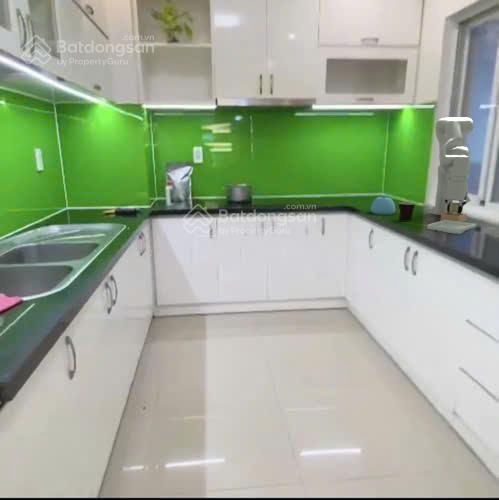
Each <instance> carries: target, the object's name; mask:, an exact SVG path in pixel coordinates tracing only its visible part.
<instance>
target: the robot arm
mask: <svg viewBox="0 0 499 500" xmlns="http://www.w3.org/2000/svg"><path fill="white" fill-rule="evenodd" d="M474 127H475V125H474V121H473V119H472V118H470V117H443V118H440V119H437V121H436V123H435V135H436V136H435V137H436V138H437V141H438V144H439V145H438V147H439V148H438V151H439V155H438V156H439V157H438V159H439V165H438V167H437V184H436V185H437V186H436V195H435V202H434V206H429V207H428V210H429V211H431V214H433V215H436V216H437V215H439V216H441V214H442V213H446V212H449V210H450V203H451V202H454V201H457V202H458V203H459V204H460V206H459V207H458V213H463V209H464V206H465V205H466V204H468V203H469V202H471V199H470V197H469V194H468V193H469V192H468V191H469V186H468V182H467V179H468V178H469V177H470V175H471V154H470V150H469V148H468V147H466V146H462V144H463V143H464V135H466V134H471V133H472V132H473V130H474Z"/></svg>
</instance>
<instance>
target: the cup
mask: <svg viewBox="0 0 499 500" xmlns="http://www.w3.org/2000/svg"><path fill="white" fill-rule="evenodd" d="M467 215H468V214H467V213H463V212H461V213H459V216H457V215H450V214H449V212H446V213H442V214H441V215H440V221H443V220H452V221H459V222H466V221H467Z"/></svg>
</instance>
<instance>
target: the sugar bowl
mask: <svg viewBox="0 0 499 500" xmlns="http://www.w3.org/2000/svg"><path fill="white" fill-rule="evenodd" d="M370 212H372V214H374V215H382V216H383V215H384V216H387V215H388V216H390V215H393V214H394V213H395V212H396V204H395V202H394V201H393V198H391V197H387V194H381V196H379V197H376V198H375V199H374V200H373V202H372V204H371V206H370Z"/></svg>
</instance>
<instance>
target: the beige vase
mask: <svg viewBox="0 0 499 500" xmlns="http://www.w3.org/2000/svg"><path fill="white" fill-rule="evenodd" d="M459 206H460V204H459V202H458V201H457V202H454V201H453V202H451V203H450V210H449V214H450V215H457V216H459V213H458V207H459Z"/></svg>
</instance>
